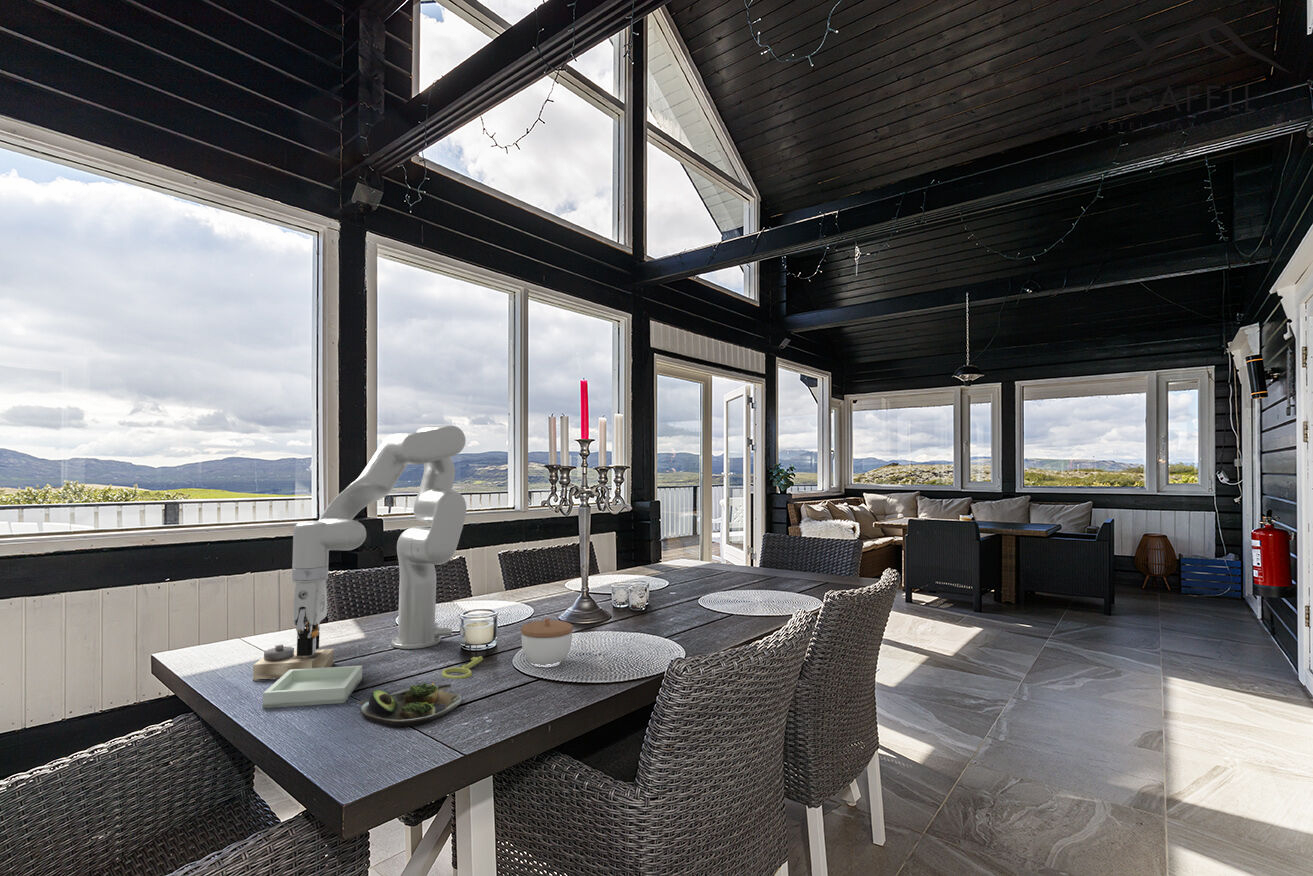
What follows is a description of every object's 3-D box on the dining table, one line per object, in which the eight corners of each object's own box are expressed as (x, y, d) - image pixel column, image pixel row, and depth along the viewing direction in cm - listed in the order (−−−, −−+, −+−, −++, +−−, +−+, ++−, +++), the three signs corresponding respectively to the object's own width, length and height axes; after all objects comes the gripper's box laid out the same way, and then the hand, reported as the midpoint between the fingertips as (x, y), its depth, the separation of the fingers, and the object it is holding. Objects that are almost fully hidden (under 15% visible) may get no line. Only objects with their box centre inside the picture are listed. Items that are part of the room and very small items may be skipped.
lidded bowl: (537, 675, 146) (538, 627, 147) (510, 662, 156) (511, 617, 156) (582, 664, 155) (582, 619, 155) (554, 653, 164) (555, 610, 165)
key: (483, 664, 156) (483, 655, 156) (468, 681, 143) (468, 671, 143) (454, 663, 156) (454, 655, 156) (437, 680, 143) (437, 671, 143)
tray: (361, 678, 143) (362, 665, 143) (344, 702, 128) (344, 687, 128) (289, 683, 139) (289, 669, 140) (262, 708, 125) (263, 693, 125)
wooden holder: (333, 663, 154) (334, 637, 154) (321, 676, 144) (321, 649, 144) (269, 666, 151) (270, 640, 151) (252, 680, 141) (254, 652, 141)
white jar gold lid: (319, 666, 151) (321, 628, 151) (314, 672, 147) (315, 633, 147) (300, 667, 150) (301, 629, 150) (294, 673, 146) (295, 634, 146)
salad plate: (423, 686, 139) (424, 665, 139) (483, 701, 131) (484, 678, 131) (343, 716, 122) (344, 691, 122) (406, 735, 114) (407, 709, 114)
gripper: (316, 579, 142) (314, 662, 141) (337, 568, 158) (335, 641, 157) (279, 581, 140) (277, 664, 139) (304, 569, 157) (302, 643, 156)
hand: (308, 651), depth 148 cm, fingers closed on white jar gold lid, 4 cm apart
